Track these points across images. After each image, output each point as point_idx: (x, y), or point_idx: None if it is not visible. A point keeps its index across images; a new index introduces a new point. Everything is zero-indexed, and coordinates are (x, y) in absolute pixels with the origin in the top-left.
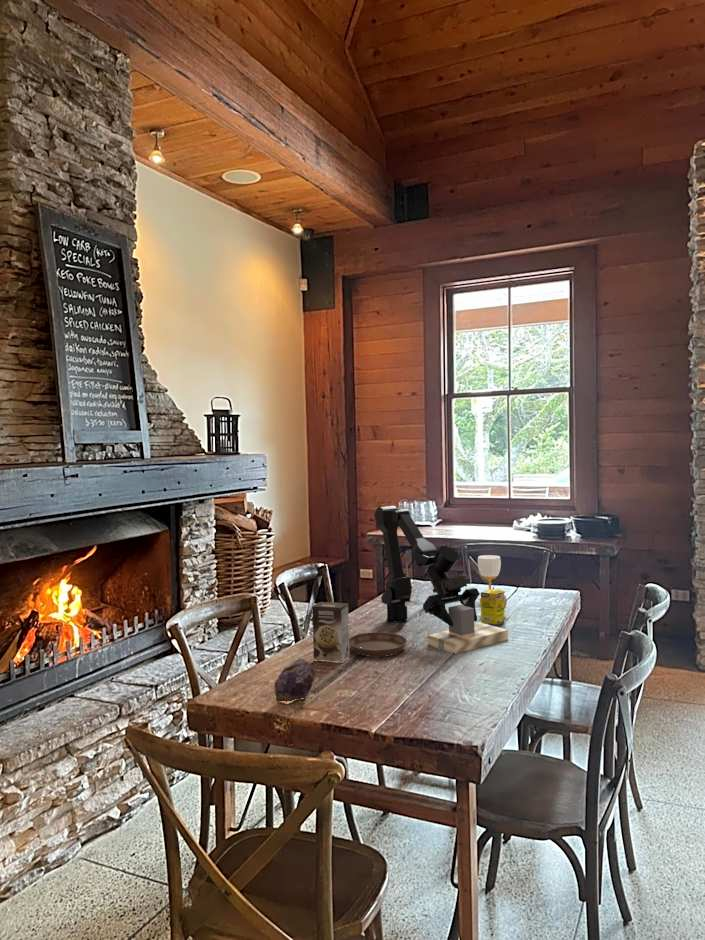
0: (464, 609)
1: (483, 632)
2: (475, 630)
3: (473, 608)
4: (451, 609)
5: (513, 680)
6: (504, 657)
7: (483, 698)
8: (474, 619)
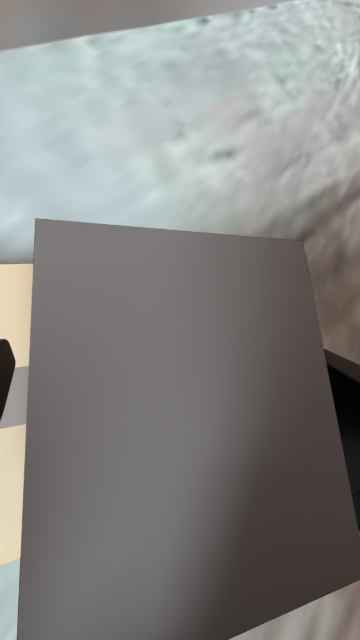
0: (223, 269)
1: (5, 324)
2: (12, 398)
3: (46, 221)
4: (328, 463)
5: (228, 33)
6: (117, 138)
7: (330, 40)
8: (5, 370)
